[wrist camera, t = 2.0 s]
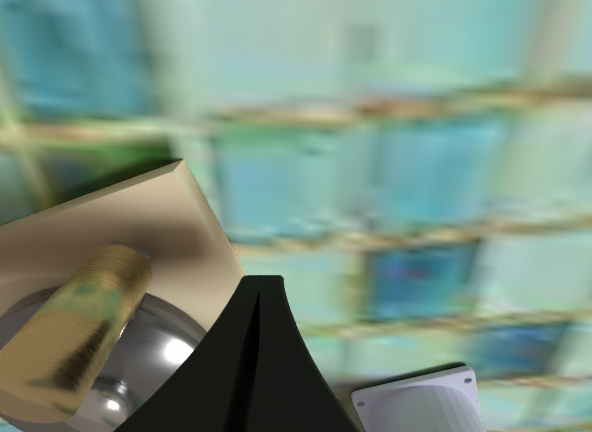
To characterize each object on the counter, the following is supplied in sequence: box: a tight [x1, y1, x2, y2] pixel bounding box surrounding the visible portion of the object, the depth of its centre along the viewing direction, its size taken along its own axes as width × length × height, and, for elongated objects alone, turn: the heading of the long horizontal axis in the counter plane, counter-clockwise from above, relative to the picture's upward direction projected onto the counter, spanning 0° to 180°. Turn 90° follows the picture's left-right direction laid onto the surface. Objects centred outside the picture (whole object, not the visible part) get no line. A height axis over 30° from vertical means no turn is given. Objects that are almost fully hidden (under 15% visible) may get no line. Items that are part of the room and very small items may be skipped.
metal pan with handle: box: [0, 240, 207, 432], centre depth 14 cm, size 17×12×6 cm
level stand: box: [0, 159, 247, 332], centre depth 18 cm, size 18×17×2 cm
